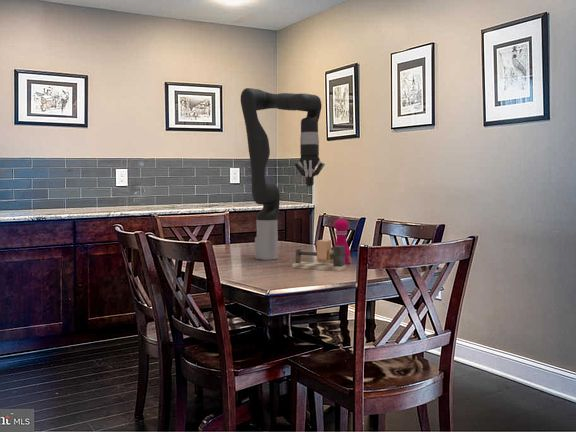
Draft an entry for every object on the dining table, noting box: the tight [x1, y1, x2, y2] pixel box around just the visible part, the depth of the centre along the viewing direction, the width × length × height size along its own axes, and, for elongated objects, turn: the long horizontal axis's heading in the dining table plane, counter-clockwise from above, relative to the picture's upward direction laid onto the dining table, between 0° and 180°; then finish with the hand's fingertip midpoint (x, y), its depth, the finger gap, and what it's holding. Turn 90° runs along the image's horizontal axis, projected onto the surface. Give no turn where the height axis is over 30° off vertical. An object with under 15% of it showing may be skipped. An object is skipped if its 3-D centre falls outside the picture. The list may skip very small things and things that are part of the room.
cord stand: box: [291, 245, 347, 272], centre depth 222 cm, size 20×7×9 cm, turn 62°
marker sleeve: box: [316, 239, 332, 262], centre depth 221 cm, size 4×5×8 cm
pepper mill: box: [333, 214, 351, 265], centre depth 234 cm, size 7×7×20 cm
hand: (309, 186), depth 232 cm, fingers closed
